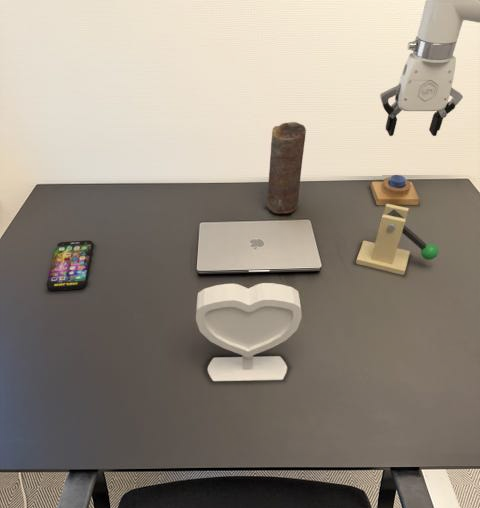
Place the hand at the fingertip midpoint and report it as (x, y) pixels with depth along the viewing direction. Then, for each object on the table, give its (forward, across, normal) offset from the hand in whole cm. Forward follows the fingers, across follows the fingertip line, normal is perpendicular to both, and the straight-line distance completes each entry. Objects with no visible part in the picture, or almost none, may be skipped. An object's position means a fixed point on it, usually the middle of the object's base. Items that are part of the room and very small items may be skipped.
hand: (411, 133), depth 105 cm
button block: (+16, 0, 0) cm, 16 cm away
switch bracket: (+16, -8, -24) cm, 30 cm away
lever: (+10, -5, -26) cm, 28 cm away
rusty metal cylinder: (+16, -28, -5) cm, 33 cm away
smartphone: (+16, -74, -26) cm, 80 cm away
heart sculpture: (+16, -37, -53) cm, 67 cm away
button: (+13, 0, 0) cm, 13 cm away
